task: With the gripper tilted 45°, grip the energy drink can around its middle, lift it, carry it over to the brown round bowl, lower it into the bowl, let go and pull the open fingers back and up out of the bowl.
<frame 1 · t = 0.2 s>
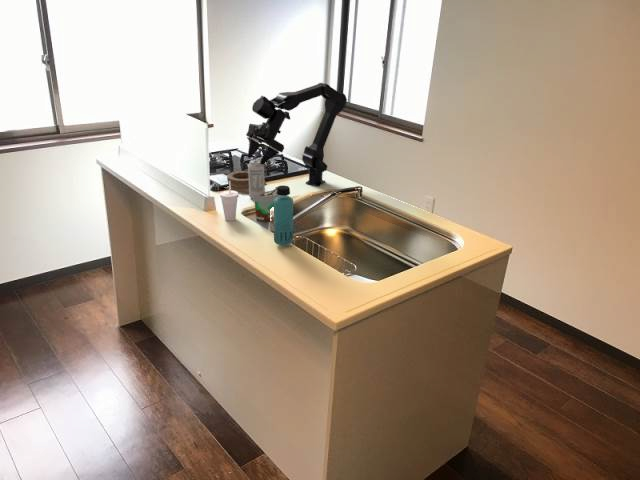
hand: (254, 160, 203), 15 cm above the worktop, tool tilted 35°, fingers open, 9 cm apart
energy drink can: (257, 198, 208), on the worktop
beverage bottle: (283, 245, 171), on the worktop
brown round bowl: (242, 186, 220), on the worktop
food container: (271, 219, 190), on the worktop
smoothie: (230, 219, 189), on the worktop
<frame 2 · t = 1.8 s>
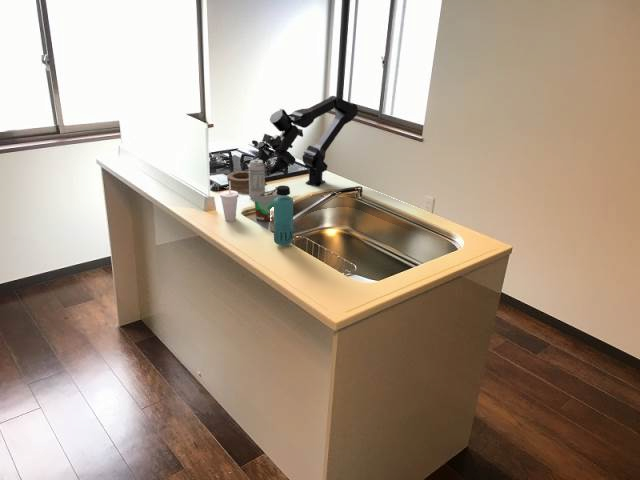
hand: (263, 170, 205), 11 cm above the worktop, tool tilted 45°, fingers open, 9 cm apart
nothing on the worktop moved.
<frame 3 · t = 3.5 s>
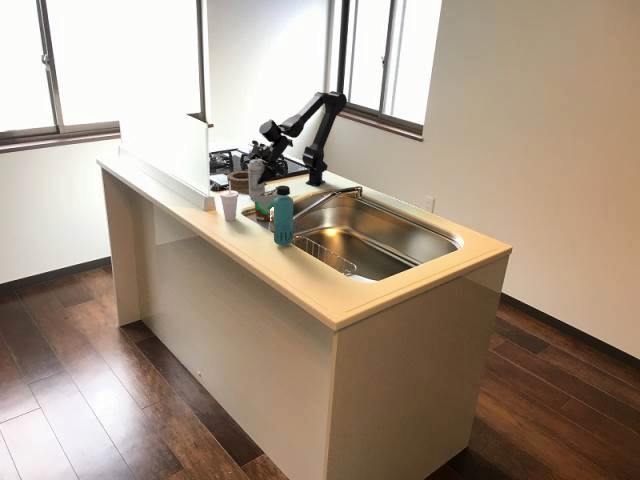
hand: (253, 181, 204), 7 cm above the worktop, tool tilted 45°, fingers closed on energy drink can, 6 cm apart
energy drink can: (257, 198, 208), on the worktop, touching gripper
everything else where it was.
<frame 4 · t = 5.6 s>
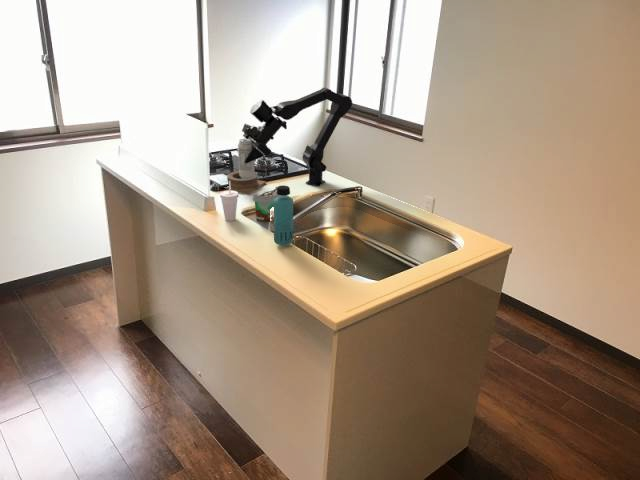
hand: (242, 160, 207), 13 cm above the worktop, tool tilted 45°, fingers closed on energy drink can, 6 cm apart
energy drink can: (247, 177, 211), point 6 cm above the worktop, touching gripper
everything else where it was.
when the fingers open (9 cm above the worktop, at t = 7.6 s): energy drink can drops 1 cm, resting on brown round bowl.
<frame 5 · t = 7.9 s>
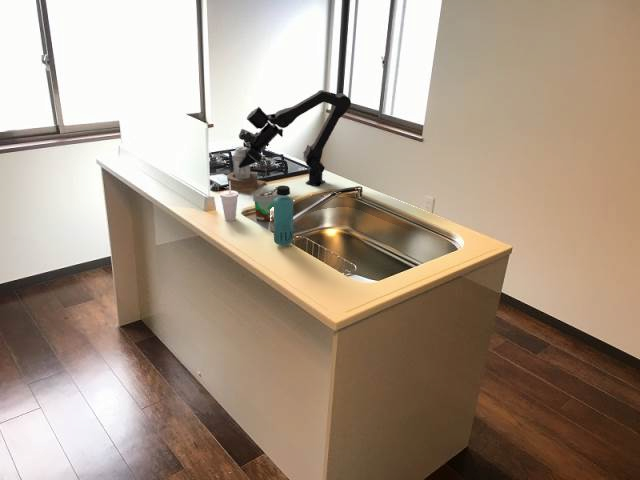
hand: (238, 163, 215), 10 cm above the worktop, tool tilted 45°, fingers open, 9 cm apart
energy drink can: (243, 184, 219), point 1 cm above the worktop, touching brown round bowl
everything else where it was.
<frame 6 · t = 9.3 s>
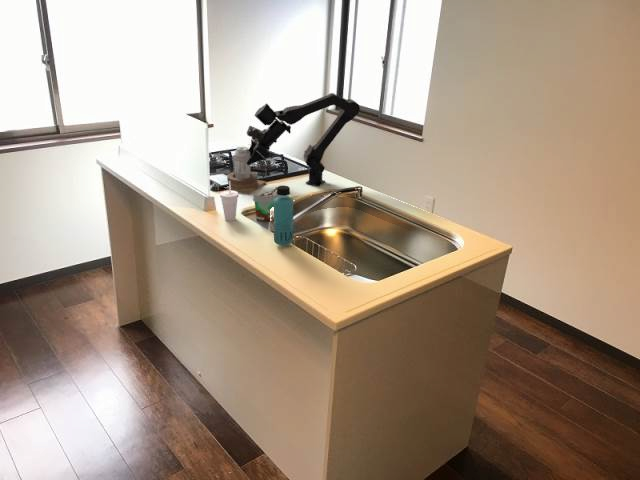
hand: (246, 160, 215), 11 cm above the worktop, tool tilted 45°, fingers open, 9 cm apart
nothing on the worktop moved.
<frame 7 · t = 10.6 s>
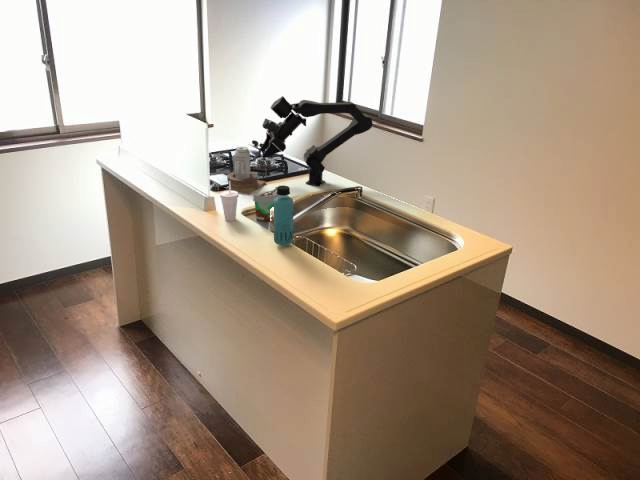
hand: (261, 153, 215), 14 cm above the worktop, tool tilted 45°, fingers open, 9 cm apart
nothing on the worktop moved.
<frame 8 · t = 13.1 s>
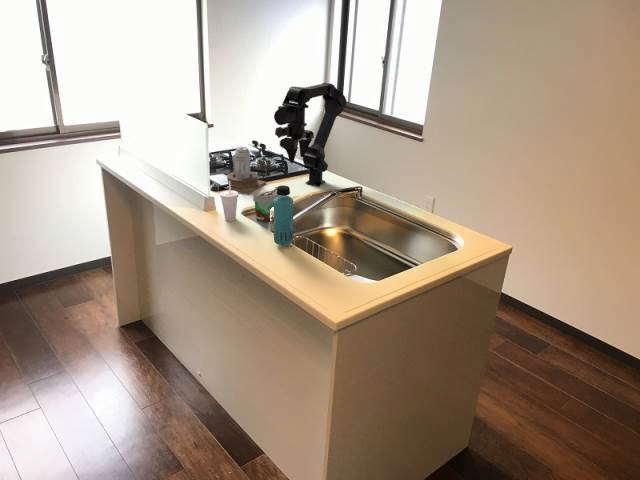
hand: (296, 159, 211), 13 cm above the worktop, tool pointing down, fingers open, 9 cm apart
nothing on the worktop moved.
at the end: energy drink can 0.3 cm off-centre on the brown round bowl, point 0.8 cm above the brown round bowl's base; energy drink can tilted 0°; the gripper is holding nothing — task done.
